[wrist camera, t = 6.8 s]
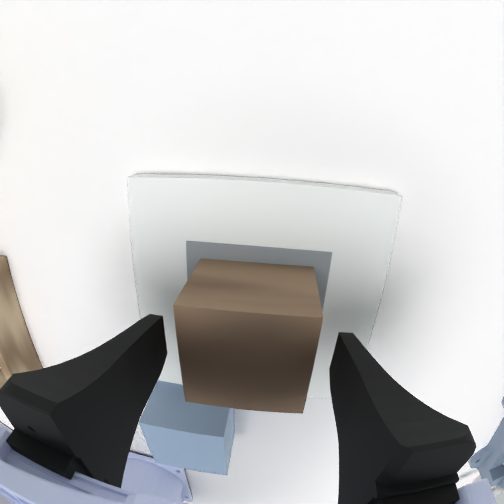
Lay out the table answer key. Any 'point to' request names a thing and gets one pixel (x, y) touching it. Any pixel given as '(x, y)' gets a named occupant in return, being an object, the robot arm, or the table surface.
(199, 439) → the blue block
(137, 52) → the table surface
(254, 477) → the table surface
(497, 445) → the vise
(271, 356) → the walnut block
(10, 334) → the plank frame
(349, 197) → the board
